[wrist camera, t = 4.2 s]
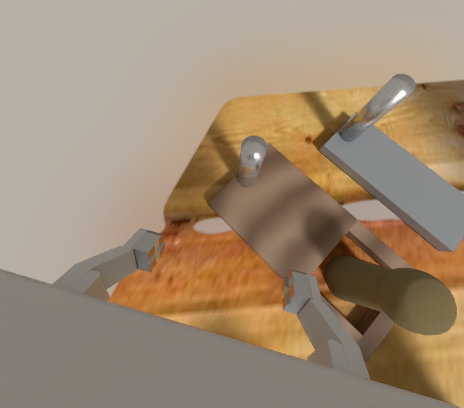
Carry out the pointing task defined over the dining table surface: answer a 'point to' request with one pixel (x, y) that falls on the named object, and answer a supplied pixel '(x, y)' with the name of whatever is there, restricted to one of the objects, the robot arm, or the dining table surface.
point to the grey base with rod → (397, 171)
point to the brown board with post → (298, 226)
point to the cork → (394, 293)
